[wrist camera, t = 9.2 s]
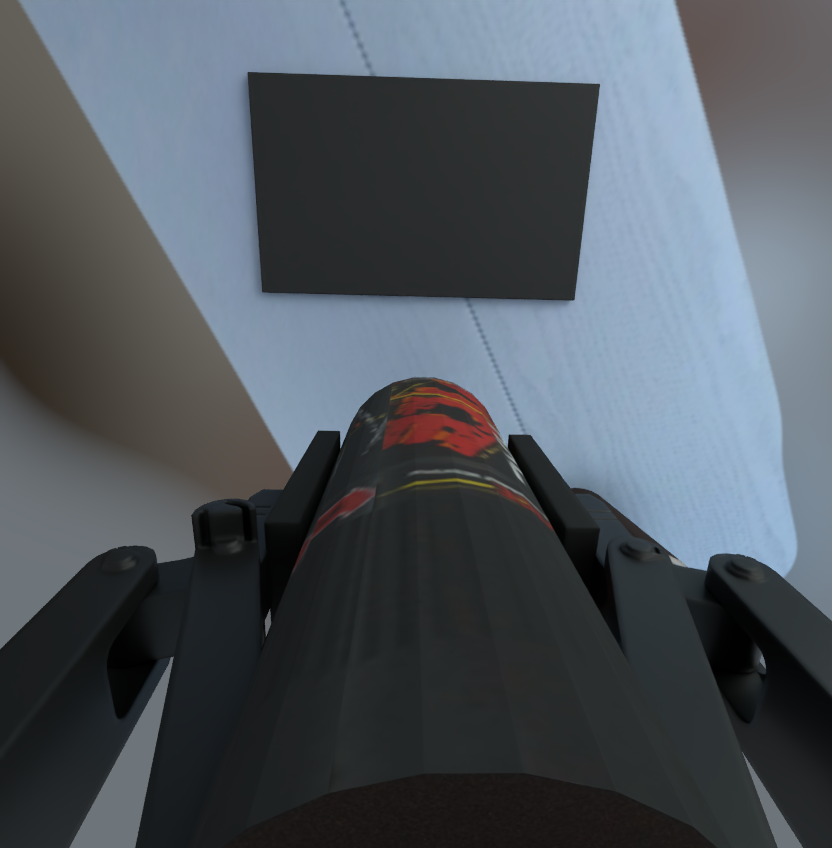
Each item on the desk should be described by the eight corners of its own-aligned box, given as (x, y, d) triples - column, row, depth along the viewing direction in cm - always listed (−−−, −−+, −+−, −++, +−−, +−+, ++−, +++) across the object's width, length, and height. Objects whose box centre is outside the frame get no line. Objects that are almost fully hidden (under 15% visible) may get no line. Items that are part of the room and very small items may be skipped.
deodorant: (315, 464, 19) (28, 1043, 5) (409, 344, 18) (404, 642, 3) (433, 546, 20) (491, 1214, 6) (530, 439, 19) (911, 965, 5)
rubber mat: (249, 74, 28) (247, 71, 28) (597, 86, 28) (600, 83, 28) (263, 292, 31) (262, 292, 31) (572, 300, 32) (574, 300, 31)
